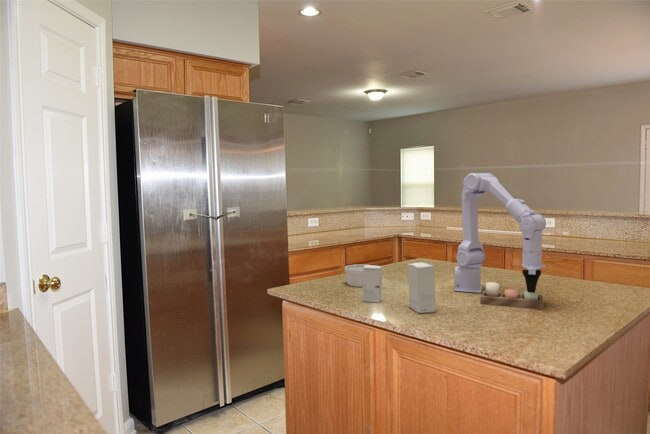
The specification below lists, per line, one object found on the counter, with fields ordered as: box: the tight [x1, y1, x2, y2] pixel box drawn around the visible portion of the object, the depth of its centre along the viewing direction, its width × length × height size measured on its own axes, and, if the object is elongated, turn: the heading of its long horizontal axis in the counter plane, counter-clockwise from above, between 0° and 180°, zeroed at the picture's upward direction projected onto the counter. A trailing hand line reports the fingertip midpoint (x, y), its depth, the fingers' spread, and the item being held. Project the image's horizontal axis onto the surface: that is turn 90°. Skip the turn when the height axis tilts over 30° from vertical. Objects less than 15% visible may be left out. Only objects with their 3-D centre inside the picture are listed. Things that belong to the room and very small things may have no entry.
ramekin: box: [344, 264, 366, 288], centre depth 185 cm, size 13×13×7 cm
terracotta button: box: [504, 288, 519, 298], centre depth 153 cm, size 4×4×4 cm
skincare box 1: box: [362, 264, 383, 303], centre depth 159 cm, size 6×4×12 cm
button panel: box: [479, 290, 544, 310], centre depth 153 cm, size 19×9×2 cm, turn 67°
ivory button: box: [485, 281, 500, 297], centre depth 155 cm, size 4×4×4 cm
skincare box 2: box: [407, 261, 437, 314], centre depth 147 cm, size 8×6×15 cm
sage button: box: [523, 290, 539, 300], centre depth 151 cm, size 4×4×4 cm
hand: (531, 292), depth 151 cm, fingers closed, pressing on sage button
